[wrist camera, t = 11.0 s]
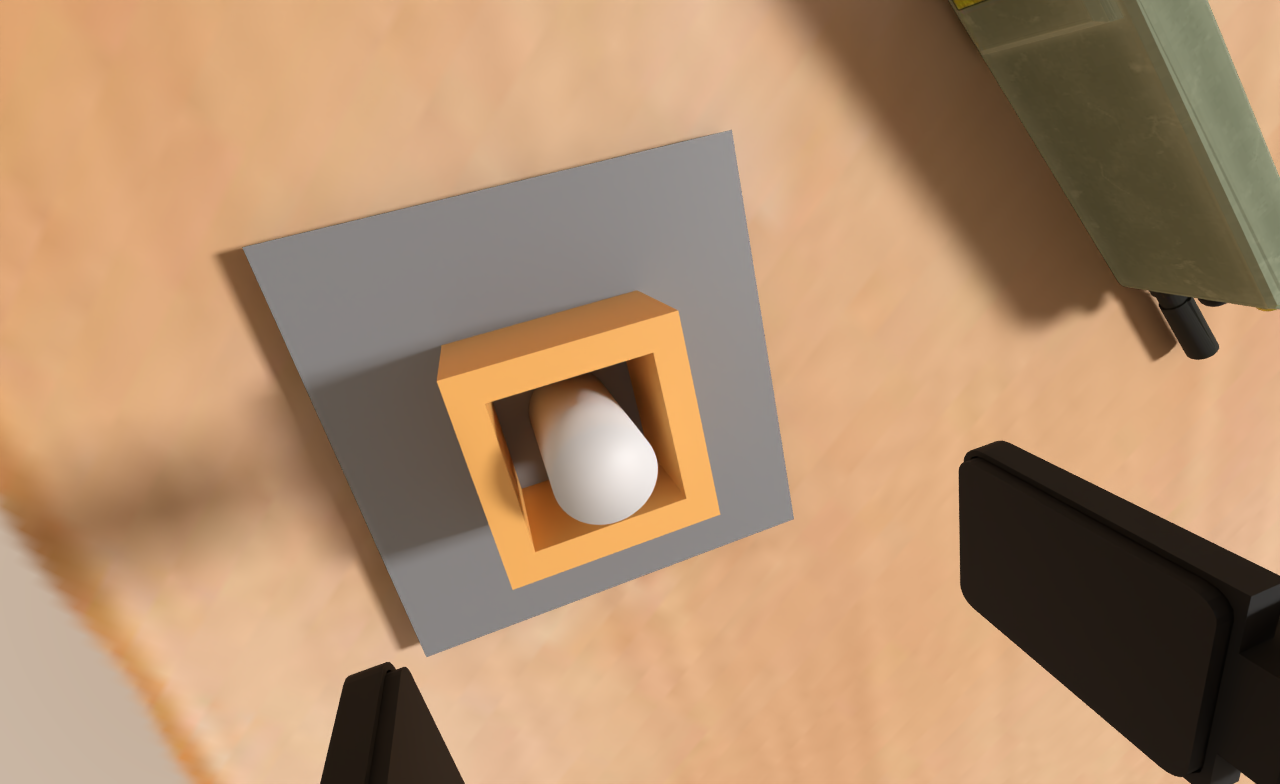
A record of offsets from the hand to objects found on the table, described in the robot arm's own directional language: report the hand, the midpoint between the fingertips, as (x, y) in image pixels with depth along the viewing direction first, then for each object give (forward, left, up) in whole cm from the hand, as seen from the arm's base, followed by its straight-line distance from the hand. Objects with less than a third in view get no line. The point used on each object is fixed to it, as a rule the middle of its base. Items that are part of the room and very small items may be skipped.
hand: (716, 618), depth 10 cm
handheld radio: (-2, +24, -15) cm, 28 cm away
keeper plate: (+1, 0, -15) cm, 15 cm away
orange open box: (+1, 0, -14) cm, 14 cm away
